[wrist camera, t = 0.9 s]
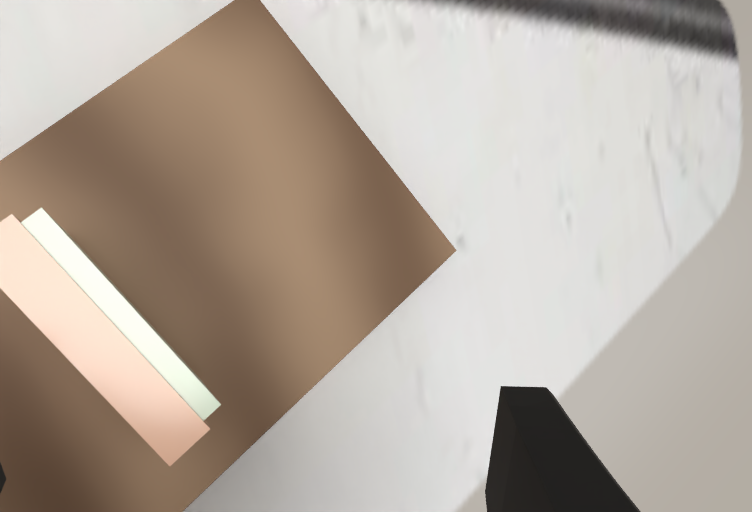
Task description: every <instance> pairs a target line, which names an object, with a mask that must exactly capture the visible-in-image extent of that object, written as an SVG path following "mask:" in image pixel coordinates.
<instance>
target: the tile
mask: <svg viewBox="0 0 752 512" xmlns="http://www.w3.org/2000/svg"><path fill="white" fill-rule="evenodd" d="M0 288H1V289H2V290H3V292H4V293H5V294H6V295H7V296H8V297H9V298H10V299H11V300H12V301H13V302H14V303H15V304H16V305H17V306H18V307H19V308H20V309H21V310H22V312H23V313H24V314H25V315H26V316H27V317H28V318H29V319H30V320H31V321H32V322H33V323H34V324H35V325H36V326H37V327H38V328H39V329H40V330H41V332H42V333H43V334H44V335H45V336H46V337H47V338H48V339H49V340H50V341H51V342H52V343H53V344H54V345H55V346H56V347H57V348H58V349H59V350H60V352H61V353H62V354H63V355H64V356H65V357H66V358H67V359H68V360H69V361H70V362H71V363H72V364H73V365H74V366H75V367H76V368H77V369H78V370H79V372H80V373H81V374H82V375H83V376H84V377H85V378H86V379H87V380H88V381H89V382H90V383H91V384H92V385H93V386H94V387H95V388H96V389H97V390H98V392H99V393H100V394H101V395H102V396H103V397H104V398H105V399H106V400H107V401H108V402H109V403H110V404H111V405H112V406H113V407H114V408H115V409H116V410H117V412H118V413H119V414H120V415H121V416H122V417H123V418H124V419H125V420H126V421H127V422H128V423H129V424H130V425H131V426H132V427H133V428H134V429H135V430H136V432H137V433H138V434H139V435H140V436H141V437H142V438H143V439H144V440H145V441H146V442H147V443H148V444H149V445H150V446H151V447H152V448H153V449H154V450H155V452H156V453H157V454H158V455H159V456H160V457H161V458H162V459H163V460H164V461H165V462H166V463H167V464H168V465H169V466H171V465H172V464H173V463H174V462H175V461H176V460H177V459H179V458H180V457H181V456H182V455H183V454H184V453H185V452H186V451H187V450H188V449H189V448H191V447H192V446H193V445H194V444H195V443H196V442H197V441H198V440H199V439H200V438H201V437H202V436H204V435H205V434H206V433H207V432H208V431H209V430H210V427H209V426H208V424H207V422H206V420H205V419H206V418H207V417H208V416H209V415H210V414H212V413H213V412H214V411H215V410H216V409H217V408H218V407H219V406H220V405H221V404H220V403H219V401H218V400H217V399H216V398H215V396H214V395H213V394H212V393H211V391H210V390H209V389H208V388H207V387H206V385H205V384H204V383H203V382H202V380H201V379H200V378H199V377H198V376H197V375H196V374H195V372H194V371H193V370H192V369H191V368H190V367H189V366H188V365H187V364H186V363H185V361H184V360H183V359H182V358H181V357H180V356H179V355H178V354H177V353H176V352H175V350H174V349H173V348H172V347H171V346H170V345H169V344H168V343H167V342H166V341H165V339H164V338H163V337H162V336H161V335H160V334H159V333H158V332H157V331H156V330H155V328H154V327H153V326H152V325H151V324H150V323H149V322H148V321H147V320H146V319H145V317H144V316H143V315H142V314H141V313H140V312H139V311H138V310H137V309H136V308H135V307H134V305H133V304H132V303H131V302H130V301H129V300H128V299H127V298H126V297H125V296H124V294H123V293H122V292H121V291H120V290H119V289H118V288H117V287H116V286H115V285H114V283H113V282H112V281H111V280H110V279H109V278H108V277H107V276H106V275H105V274H104V272H103V271H102V270H101V269H100V268H99V267H98V266H97V265H96V264H95V263H94V261H93V260H92V259H91V258H90V257H89V256H88V255H87V254H86V253H85V252H84V250H83V249H82V248H81V247H80V246H79V245H78V244H77V243H76V242H75V241H74V239H73V238H72V237H71V236H70V235H69V234H68V233H67V232H66V231H65V230H64V229H63V228H62V227H61V226H60V225H59V224H58V223H57V222H56V221H55V220H54V219H53V218H52V217H51V216H50V215H49V214H48V213H47V212H46V211H45V210H44V209H43V208H42V207H41V208H40V209H39V210H37V211H36V212H35V213H33V214H32V215H30V216H29V217H28V218H26V219H25V220H24V221H21V220H20V219H18V218H17V217H16V216H14V215H13V214H11V215H9V216H8V217H7V218H5V219H4V220H3V221H1V222H0Z"/></svg>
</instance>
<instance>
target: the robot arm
mask: <svg viewBox="0 0 752 512" xmlns="http://www.w3.org/2000/svg"><path fill="white" fill-rule="evenodd" d="M5 481H6V476H5V473H4V471H3V468H2V465H1V463H0V493H1V491H2V489H3V486H4V484H5ZM485 494H486V505H487V512H640V511H639V509H638V508H637V507H636V506H635V504H634V503H633V502H632V501H631V500H630V498H629V497H628V496H627V494H626V493H625V492H624V491H623V490H622V488H621V487H620V486H619V484H618V483H617V482H616V480H615V479H614V478H613V477H612V475H611V474H610V473H609V472H608V470H607V469H606V467H605V466H604V465H603V463H602V462H601V461H600V460H599V458H598V457H597V455H596V454H595V453H594V451H593V450H592V449H591V447H590V446H589V445H588V443H587V442H586V440H585V439H584V438H583V436H582V435H581V434H580V432H579V431H578V429H577V428H576V427H575V425H574V424H573V422H572V421H571V420H570V418H569V417H568V416H567V414H566V413H565V411H564V410H563V408H562V407H561V405H560V404H559V402H558V401H557V400H556V398H555V397H554V395H553V394H552V393H551V392H550V391H549V390H548V389H547V388H546V387H509V386H501V389H500V396H499V403H498V409H497V416H496V423H495V429H494V436H493V443H492V449H491V456H490V463H489V470H488V476H487V483H486V490H485Z"/></svg>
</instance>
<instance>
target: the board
mask: <svg viewBox="0 0 752 512" xmlns="http://www.w3.org/2000/svg"><path fill="white" fill-rule="evenodd" d="M41 207H42V208H43V209H44V210H45V211H46V212H47V213H48V214H49V215H50V216H51V217H52V218H53V219H54V220H55V221H56V222H57V223H58V224H59V225H60V226H61V227H62V228H63V229H64V230H65V231H66V232H67V233H68V234H69V235H70V236H71V237H72V238H73V239H74V241H75V242H76V243H77V244H78V245H79V246H80V247H81V248H82V249H83V250H84V252H85V253H86V254H87V255H88V256H89V257H90V258H91V259H92V260H93V261H94V263H95V264H96V265H97V266H98V267H99V268H100V269H101V270H102V271H103V272H104V274H105V275H106V276H107V277H108V278H109V279H110V280H111V281H112V282H113V283H114V285H115V286H116V287H117V288H118V289H119V290H120V291H121V292H122V293H123V294H124V296H125V297H126V298H127V299H128V300H129V301H130V302H131V303H132V304H133V305H134V307H135V308H136V309H137V310H138V311H139V312H140V313H141V314H142V315H143V316H144V317H145V319H146V320H147V321H148V322H149V323H150V324H151V325H152V326H153V327H154V328H155V330H156V331H157V332H158V333H159V334H160V335H161V336H162V337H163V338H164V339H165V341H166V342H167V343H168V344H169V345H170V346H171V347H172V348H173V349H174V350H175V352H176V353H177V354H178V355H179V356H180V357H181V358H182V359H183V360H184V361H185V363H186V364H187V365H188V366H189V367H190V368H191V369H192V370H193V371H194V372H195V374H196V375H197V376H198V377H199V378H200V379H201V380H202V382H203V383H204V384H205V385H206V387H207V388H208V389H209V390H210V391H211V393H212V394H213V395H214V396H215V398H216V399H217V400H218V401H219V403H220V404H221V405H220V406H219V407H218V408H217V409H216V410H215V411H214V412H213V413H212V414H210V415H209V416H208V417H207V418H206V419H205V420H206V422H207V424H208V426H209V427H210V430H209V431H208V432H207V433H206V434H205V435H204V436H202V437H201V438H200V439H199V440H198V441H197V442H196V443H195V444H194V445H193V446H192V447H191V448H189V449H188V450H187V451H186V452H185V453H184V454H183V455H182V456H181V457H180V458H179V459H177V460H176V461H175V462H174V463H173V464H172V465H171V466H169V465H168V464H167V463H166V462H165V461H164V460H163V459H162V458H161V457H160V456H159V455H158V454H157V453H156V452H155V450H154V449H153V448H152V447H151V446H150V445H149V444H148V443H147V442H146V441H145V440H144V439H143V438H142V437H141V436H140V435H139V434H138V433H137V432H136V430H135V429H134V428H133V427H132V426H131V425H130V424H129V423H128V422H127V421H126V420H125V419H124V418H123V417H122V416H121V415H120V414H119V413H118V412H117V410H116V409H115V408H114V407H113V406H112V405H111V404H110V403H109V402H108V401H107V400H106V399H105V398H104V397H103V396H102V395H101V394H100V393H99V392H98V390H97V389H96V388H95V387H94V386H93V385H92V384H91V383H90V382H89V381H88V380H87V379H86V378H85V377H84V376H83V375H82V374H81V373H80V372H79V370H78V369H77V368H76V367H75V366H74V365H73V364H72V363H71V362H70V361H69V360H68V359H67V358H66V357H65V356H64V355H63V354H62V353H61V352H60V350H59V349H58V348H57V347H56V346H55V345H54V344H53V343H52V342H51V341H50V340H49V339H48V338H47V337H46V336H45V335H44V334H43V333H42V332H41V330H40V329H39V328H38V327H37V326H36V325H35V324H34V323H33V322H32V321H31V320H30V319H29V318H28V317H27V316H26V315H25V314H24V313H23V312H22V310H21V309H20V308H19V307H18V306H17V305H16V304H15V303H14V302H13V301H12V300H11V299H10V298H9V297H8V296H7V295H6V294H5V293H4V292H3V290H2V289H1V288H0V463H1V465H2V468H3V471H4V473H5V476H6V481H5V484H4V486H3V489H2V491H1V493H0V512H182V511H183V510H184V509H186V508H187V507H188V506H189V505H190V504H191V503H192V502H193V501H194V500H195V499H196V498H197V497H198V496H199V495H200V494H201V493H202V492H203V491H204V490H205V489H207V488H208V487H209V486H210V485H211V484H212V483H213V482H214V481H215V480H216V479H217V478H218V477H219V476H220V475H221V474H222V473H223V472H224V471H225V470H226V469H228V468H229V467H230V466H231V465H232V464H233V463H234V462H235V461H236V460H237V459H238V458H239V457H240V456H241V455H242V454H243V453H244V452H245V451H246V450H247V449H249V448H250V447H251V446H252V445H253V444H254V443H255V442H256V441H257V440H258V439H259V438H260V437H261V436H262V435H263V434H264V433H265V432H266V431H267V430H268V429H270V428H271V427H272V426H273V425H274V424H275V423H276V422H277V421H278V420H279V419H280V418H281V417H282V416H283V415H284V414H285V413H286V412H287V411H288V410H289V409H291V408H292V407H293V406H294V405H295V404H296V403H297V402H298V401H299V400H300V399H301V398H302V397H303V396H304V395H305V394H306V393H307V392H308V391H309V390H310V389H312V388H313V387H314V386H315V385H316V384H317V383H318V382H319V381H320V380H321V379H322V378H323V377H324V376H325V375H326V374H327V373H328V372H329V371H330V370H331V369H332V368H334V367H335V366H336V365H337V364H338V363H339V362H340V361H341V360H342V359H343V358H344V357H345V356H346V355H347V354H348V353H349V352H350V351H351V350H352V349H353V348H355V347H356V346H357V345H358V344H359V343H360V342H361V341H362V340H363V339H364V338H365V337H366V336H367V335H368V334H369V333H370V332H371V331H372V330H373V329H374V328H376V327H377V326H378V325H379V324H380V323H381V322H382V321H383V320H384V319H385V318H386V317H387V316H388V315H389V314H390V313H391V312H392V311H393V310H394V309H395V308H397V307H398V306H399V305H400V304H401V303H402V302H403V301H404V300H405V299H406V298H407V297H408V296H409V295H410V294H411V293H412V292H413V291H414V290H415V289H416V288H418V287H419V286H420V285H421V284H422V283H423V282H424V281H425V280H426V279H427V278H428V277H429V276H430V275H431V274H432V273H433V272H434V271H435V270H436V269H437V268H439V267H440V266H441V265H442V264H443V263H444V262H445V261H446V260H447V259H448V258H449V257H450V256H451V255H452V254H453V253H454V252H455V251H456V249H455V248H454V247H453V246H452V244H451V243H450V242H449V240H448V239H447V238H446V237H445V235H444V234H443V233H442V232H441V230H440V229H439V228H438V226H437V225H436V224H435V223H434V221H433V220H432V219H431V218H430V216H429V215H428V214H427V212H426V211H425V210H424V209H423V207H422V206H421V205H420V204H419V202H418V201H417V200H416V198H415V197H414V196H413V195H412V193H411V192H410V191H409V190H408V188H407V187H406V186H405V184H404V183H403V182H402V181H401V179H400V178H399V177H398V176H397V174H396V173H395V172H394V170H393V169H392V168H391V167H390V165H389V164H388V163H387V161H386V160H385V159H384V158H383V156H382V155H381V154H380V153H379V151H378V150H377V149H376V147H375V146H374V145H373V144H372V142H371V141H370V140H369V139H368V137H367V136H366V135H365V133H364V132H363V131H362V130H361V128H360V127H359V126H358V125H357V123H356V122H355V121H354V119H353V118H352V117H351V116H350V114H349V113H348V112H347V111H346V109H345V108H344V107H343V105H342V104H341V103H340V102H339V100H338V99H337V98H336V97H335V95H334V94H333V93H332V91H331V90H330V89H329V88H328V86H327V85H326V84H325V83H324V81H323V80H322V79H321V77H320V76H319V75H318V74H317V72H316V71H315V70H314V69H313V67H312V66H311V65H310V63H309V62H308V61H307V60H306V58H305V57H304V56H303V54H302V53H301V52H300V51H299V49H298V48H297V47H296V46H295V44H294V43H293V42H292V40H291V39H290V38H289V37H288V35H287V34H286V33H285V32H284V30H283V29H282V28H281V26H280V25H279V24H278V23H277V21H276V20H275V19H274V18H273V16H272V15H271V14H270V12H269V11H268V10H267V9H266V7H265V6H264V5H263V4H262V2H261V1H260V0H234V1H233V2H231V3H230V4H228V5H227V6H225V7H224V8H223V9H221V10H220V11H218V12H217V13H215V14H214V15H212V16H211V17H209V18H208V19H206V20H205V21H204V22H202V23H201V24H199V25H198V26H196V27H195V28H193V29H192V30H190V31H189V32H187V33H186V34H185V35H183V36H182V37H180V38H179V39H177V40H176V41H174V42H173V43H171V44H170V45H169V46H167V47H166V48H164V49H163V50H161V51H160V52H158V53H157V54H155V55H154V56H152V57H151V58H150V59H148V60H147V61H145V62H144V63H142V64H141V65H139V66H138V67H136V68H135V69H134V70H132V71H131V72H129V73H128V74H126V75H125V76H123V77H122V78H120V79H119V80H117V81H116V82H115V83H113V84H112V85H110V86H109V87H107V88H106V89H104V90H103V91H101V92H100V93H98V94H97V95H96V96H94V97H93V98H91V99H90V100H88V101H87V102H85V103H84V104H82V105H81V106H80V107H78V108H77V109H75V110H74V111H72V112H71V113H69V114H68V115H66V116H65V117H63V118H62V119H61V120H59V121H58V122H56V123H55V124H53V125H52V126H50V127H49V128H47V129H46V130H44V131H43V132H42V133H40V134H39V135H37V136H36V137H34V138H33V139H31V140H30V141H28V142H27V143H26V144H24V145H23V146H21V147H20V148H18V149H17V150H15V151H14V152H12V153H11V154H9V155H8V156H7V157H5V158H4V159H2V160H1V161H0V222H1V221H3V220H4V219H5V218H7V217H8V216H9V215H11V214H13V215H14V216H16V217H17V218H18V219H20V220H21V221H24V220H25V219H26V218H28V217H29V216H30V215H32V214H33V213H35V212H36V211H37V210H39V209H40V208H41Z"/></svg>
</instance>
